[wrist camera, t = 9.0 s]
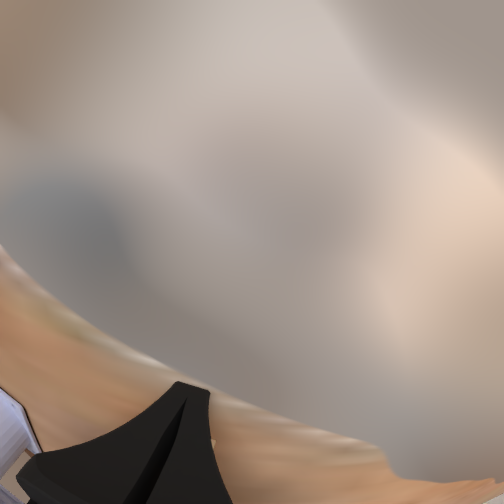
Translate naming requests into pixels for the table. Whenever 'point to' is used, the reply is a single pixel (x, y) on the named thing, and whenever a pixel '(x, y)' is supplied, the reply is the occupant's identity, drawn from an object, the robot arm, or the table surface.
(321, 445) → the table surface
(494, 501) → the gray rectangular frame
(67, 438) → the table surface
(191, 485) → the robot arm
